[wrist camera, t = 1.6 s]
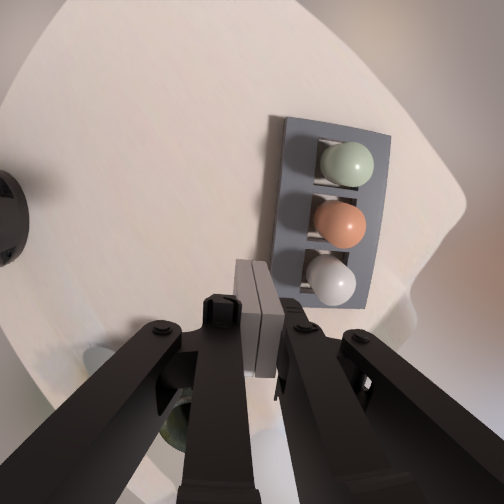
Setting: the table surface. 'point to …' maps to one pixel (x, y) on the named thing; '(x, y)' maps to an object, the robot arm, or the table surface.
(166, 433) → the mug
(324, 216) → the terracotta button
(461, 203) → the table surface
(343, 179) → the sage button
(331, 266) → the grey button
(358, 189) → the button board
